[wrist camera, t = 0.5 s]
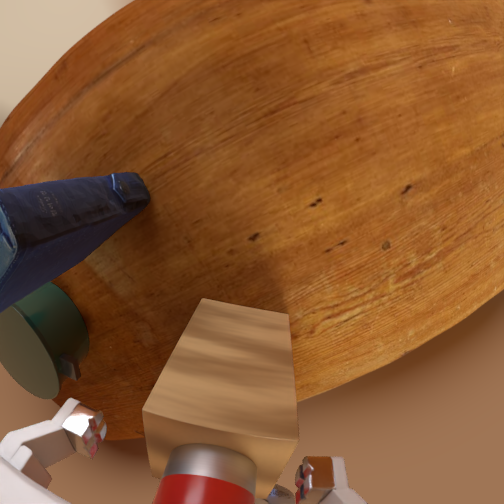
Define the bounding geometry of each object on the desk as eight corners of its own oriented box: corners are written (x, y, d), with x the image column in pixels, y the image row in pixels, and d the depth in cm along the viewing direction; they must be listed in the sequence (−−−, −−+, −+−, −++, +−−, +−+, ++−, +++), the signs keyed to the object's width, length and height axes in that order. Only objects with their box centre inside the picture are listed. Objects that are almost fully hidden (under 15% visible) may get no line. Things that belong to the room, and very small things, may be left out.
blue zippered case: (137, 164, 29) (-12, 167, 9) (161, 203, 30) (22, 250, 10) (63, 233, 32) (-57, 284, 12) (83, 267, 33) (-31, 338, 13)
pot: (107, 382, 38) (80, 420, 28) (24, 344, 38) (-6, 369, 29) (97, 293, 33) (55, 326, 24) (10, 263, 34) (-30, 282, 25)
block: (270, 379, 35) (266, 499, 17) (195, 364, 35) (151, 476, 18) (288, 313, 32) (299, 440, 15) (202, 297, 32) (141, 409, 15)
